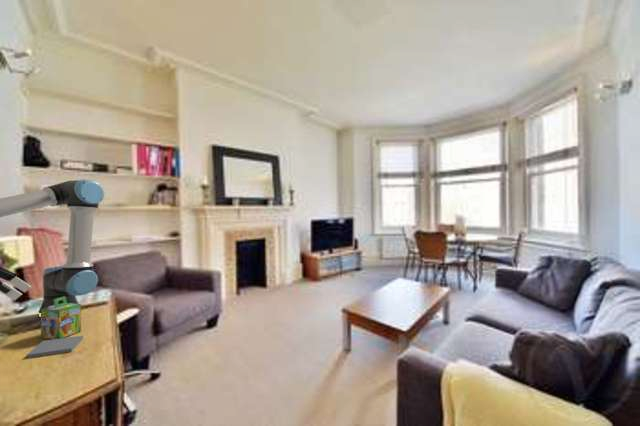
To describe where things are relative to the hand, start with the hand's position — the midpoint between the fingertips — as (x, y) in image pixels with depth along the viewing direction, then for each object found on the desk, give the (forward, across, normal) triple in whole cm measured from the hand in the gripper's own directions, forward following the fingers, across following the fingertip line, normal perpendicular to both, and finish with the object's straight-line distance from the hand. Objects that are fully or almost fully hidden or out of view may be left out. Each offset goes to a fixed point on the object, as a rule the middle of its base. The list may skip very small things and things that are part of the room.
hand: (23, 293), depth 113 cm
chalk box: (+21, 0, -5) cm, 21 cm away
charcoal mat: (+21, +14, -5) cm, 26 cm away
